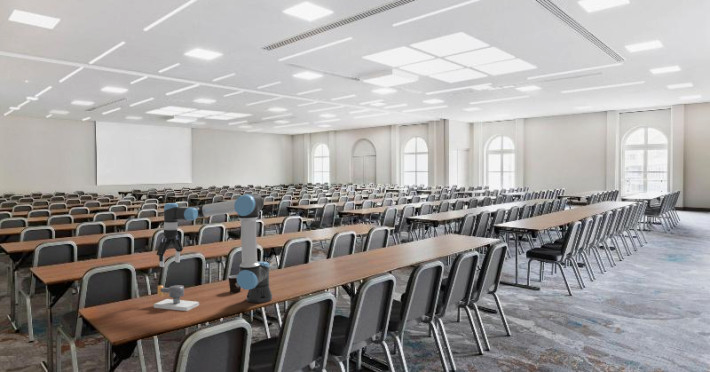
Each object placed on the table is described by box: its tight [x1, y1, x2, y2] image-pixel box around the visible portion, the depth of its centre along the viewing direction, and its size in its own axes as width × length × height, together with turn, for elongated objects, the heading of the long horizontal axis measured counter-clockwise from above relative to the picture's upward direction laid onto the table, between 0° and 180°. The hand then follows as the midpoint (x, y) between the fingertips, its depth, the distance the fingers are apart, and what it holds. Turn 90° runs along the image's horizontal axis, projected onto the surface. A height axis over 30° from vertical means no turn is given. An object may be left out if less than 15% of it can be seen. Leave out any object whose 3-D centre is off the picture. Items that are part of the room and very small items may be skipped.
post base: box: [153, 297, 200, 312], centre depth 252 cm, size 22×11×6 cm, turn 74°
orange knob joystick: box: [157, 284, 185, 299], centre depth 253 cm, size 16×8×6 cm, turn 74°
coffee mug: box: [228, 274, 242, 294], centre depth 284 cm, size 12×9×10 cm
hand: (169, 264), depth 261 cm, fingers open, 13 cm apart
